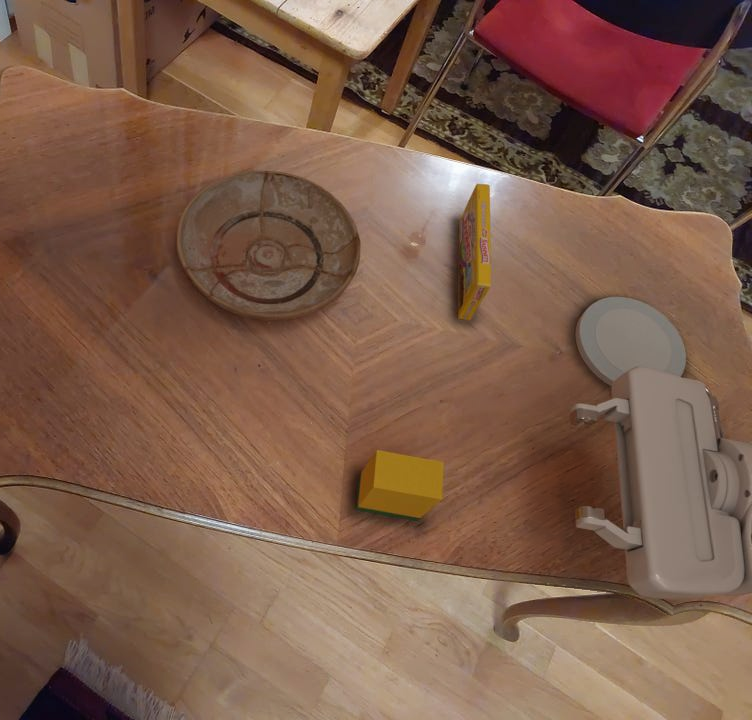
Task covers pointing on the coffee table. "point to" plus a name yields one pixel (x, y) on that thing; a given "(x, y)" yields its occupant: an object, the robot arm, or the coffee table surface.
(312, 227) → the ceramic bowl
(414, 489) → the sponge
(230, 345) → the coffee table surface
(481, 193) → the candy box
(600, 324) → the plate
